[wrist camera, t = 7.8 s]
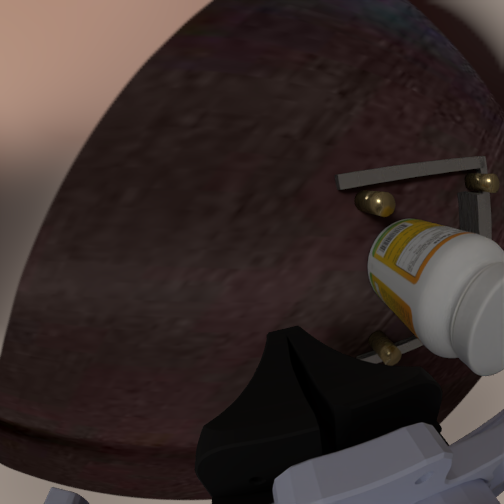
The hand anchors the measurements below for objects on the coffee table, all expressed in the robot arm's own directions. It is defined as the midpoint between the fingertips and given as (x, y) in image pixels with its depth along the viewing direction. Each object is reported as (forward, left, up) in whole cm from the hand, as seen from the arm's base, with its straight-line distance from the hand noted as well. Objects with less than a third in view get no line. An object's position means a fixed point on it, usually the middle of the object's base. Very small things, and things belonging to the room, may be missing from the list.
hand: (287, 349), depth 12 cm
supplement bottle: (+1, -8, -5) cm, 10 cm away
